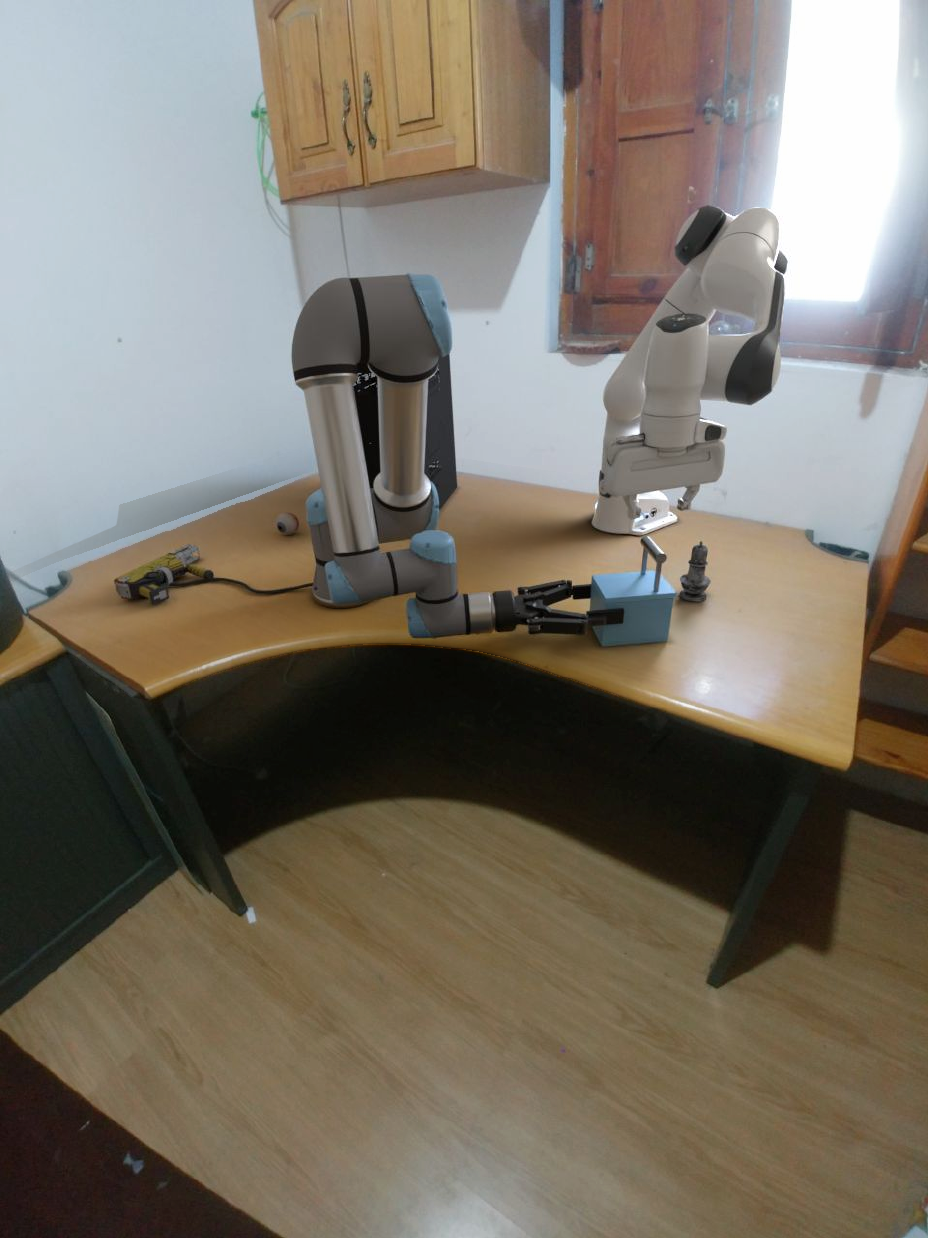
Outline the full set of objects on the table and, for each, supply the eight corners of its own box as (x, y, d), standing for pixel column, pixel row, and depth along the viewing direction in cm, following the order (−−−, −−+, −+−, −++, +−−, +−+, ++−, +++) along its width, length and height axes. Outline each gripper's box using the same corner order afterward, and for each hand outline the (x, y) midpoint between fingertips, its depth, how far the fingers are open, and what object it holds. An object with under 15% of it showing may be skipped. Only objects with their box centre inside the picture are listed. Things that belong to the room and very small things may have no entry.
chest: (650, 616, 117) (655, 575, 113) (667, 641, 109) (673, 598, 105) (588, 621, 117) (591, 580, 113) (601, 646, 109) (605, 603, 104)
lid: (657, 574, 113) (662, 532, 109) (676, 597, 105) (682, 553, 101) (591, 579, 112) (594, 538, 108) (605, 603, 104) (608, 559, 100)
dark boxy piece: (424, 530, 162) (407, 348, 139) (353, 528, 166) (326, 351, 144) (457, 486, 193) (448, 332, 171) (397, 485, 198) (380, 334, 175)
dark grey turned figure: (710, 602, 120) (719, 547, 114) (679, 601, 121) (687, 546, 115) (706, 589, 125) (715, 535, 119) (676, 588, 126) (683, 534, 120)
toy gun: (236, 552, 148) (186, 541, 152) (163, 592, 128) (107, 579, 132) (239, 569, 150) (189, 559, 154) (167, 611, 130) (112, 598, 134)
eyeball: (273, 537, 164) (268, 516, 161) (287, 528, 169) (282, 508, 166) (291, 539, 161) (286, 518, 158) (305, 530, 166) (301, 510, 163)
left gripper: (486, 601, 120) (597, 592, 121) (500, 663, 101) (632, 652, 102) (485, 567, 117) (599, 558, 118) (499, 625, 98) (636, 613, 99)
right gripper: (618, 442, 90) (612, 529, 97) (736, 426, 94) (722, 511, 101) (598, 433, 95) (594, 516, 102) (711, 419, 100) (699, 499, 107)
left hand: (614, 602), depth 110 cm, fingers closed on chest, 9 cm apart
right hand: (658, 513), depth 102 cm, fingers open, 8 cm apart
